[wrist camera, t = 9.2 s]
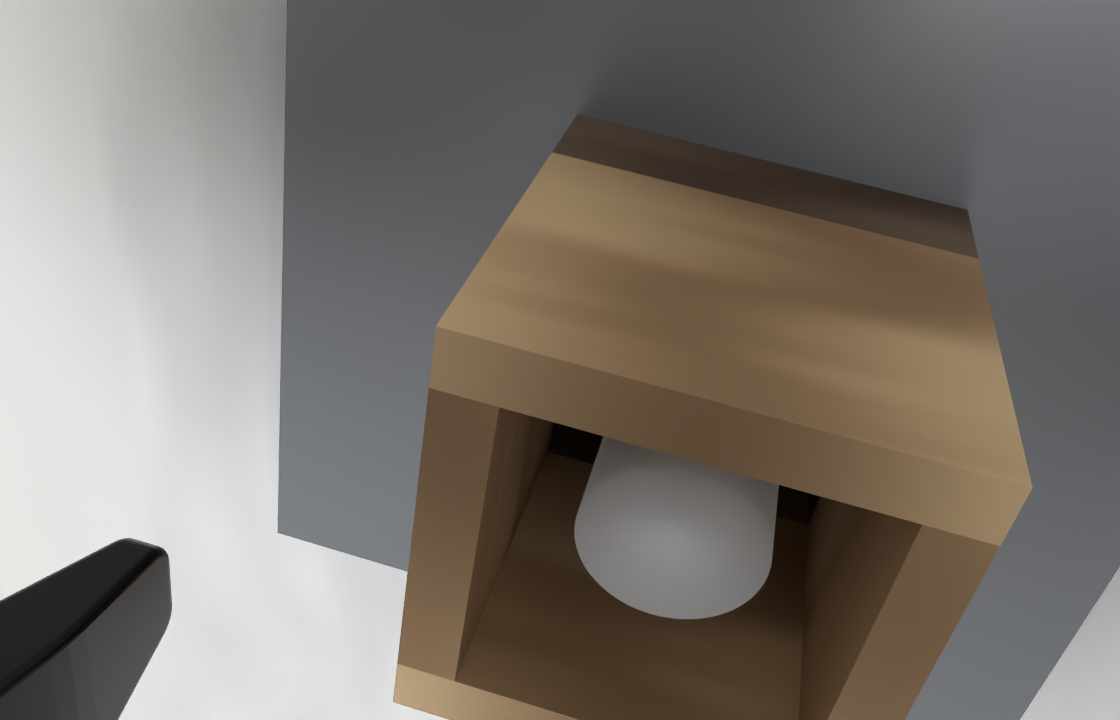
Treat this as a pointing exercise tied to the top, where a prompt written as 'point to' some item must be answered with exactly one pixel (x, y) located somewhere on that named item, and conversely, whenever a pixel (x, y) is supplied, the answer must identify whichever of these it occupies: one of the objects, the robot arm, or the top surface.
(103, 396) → the top surface
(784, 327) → the oak sleeve
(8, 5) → the top surface
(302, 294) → the pin board
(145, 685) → the top surface
